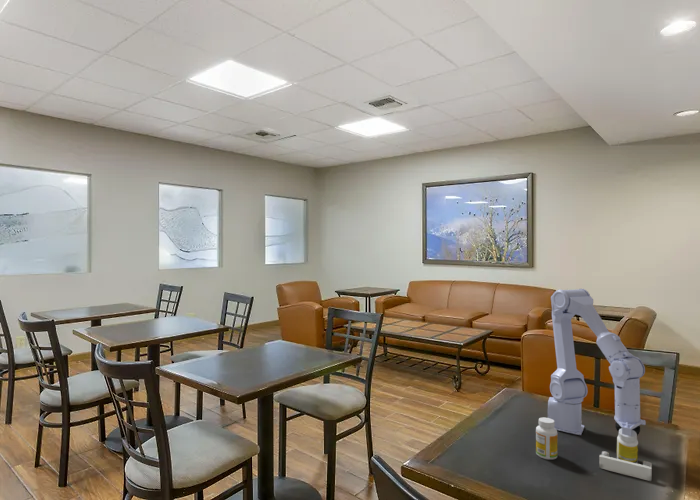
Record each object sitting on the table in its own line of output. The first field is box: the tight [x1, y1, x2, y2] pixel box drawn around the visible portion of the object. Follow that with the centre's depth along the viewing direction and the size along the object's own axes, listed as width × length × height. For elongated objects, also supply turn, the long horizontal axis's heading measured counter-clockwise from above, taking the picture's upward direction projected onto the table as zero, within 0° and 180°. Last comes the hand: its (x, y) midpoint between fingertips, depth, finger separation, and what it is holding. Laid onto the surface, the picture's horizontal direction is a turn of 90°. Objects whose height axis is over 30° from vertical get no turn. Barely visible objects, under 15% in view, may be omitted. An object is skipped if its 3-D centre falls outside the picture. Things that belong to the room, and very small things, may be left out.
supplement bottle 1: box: [535, 417, 558, 460], centre depth 117 cm, size 5×5×10 cm
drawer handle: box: [598, 450, 653, 482], centre depth 110 cm, size 11×8×3 cm
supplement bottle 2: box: [616, 428, 639, 464], centre depth 113 cm, size 5×5×8 cm
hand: (628, 452), depth 115 cm, fingers closed, pressing on supplement bottle 2
